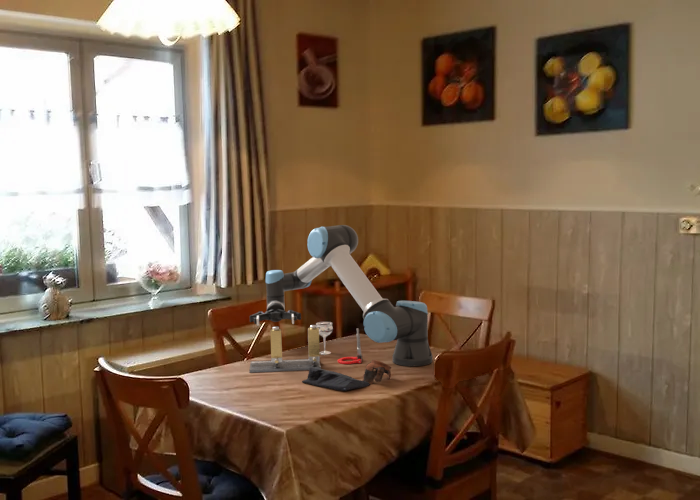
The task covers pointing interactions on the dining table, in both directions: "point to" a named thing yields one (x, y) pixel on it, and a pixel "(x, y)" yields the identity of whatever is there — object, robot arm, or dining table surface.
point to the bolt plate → (297, 363)
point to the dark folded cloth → (333, 380)
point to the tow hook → (356, 359)
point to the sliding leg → (276, 345)
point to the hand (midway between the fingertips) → (275, 321)
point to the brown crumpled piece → (376, 371)
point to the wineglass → (324, 332)
